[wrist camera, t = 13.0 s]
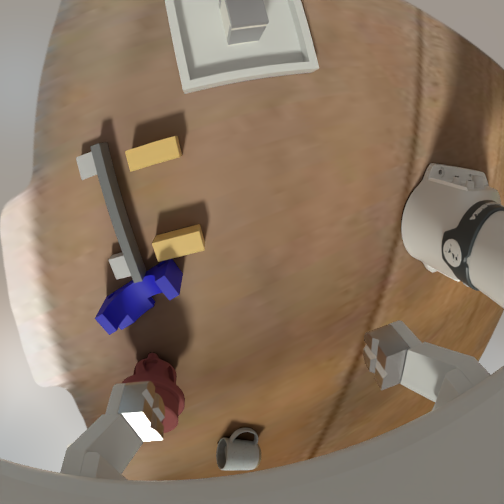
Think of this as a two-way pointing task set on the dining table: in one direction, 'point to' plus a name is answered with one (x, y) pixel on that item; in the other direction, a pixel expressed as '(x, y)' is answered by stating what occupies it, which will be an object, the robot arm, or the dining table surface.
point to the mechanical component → (161, 387)
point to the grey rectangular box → (243, 20)
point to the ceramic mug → (238, 452)
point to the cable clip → (139, 296)
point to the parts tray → (241, 55)
